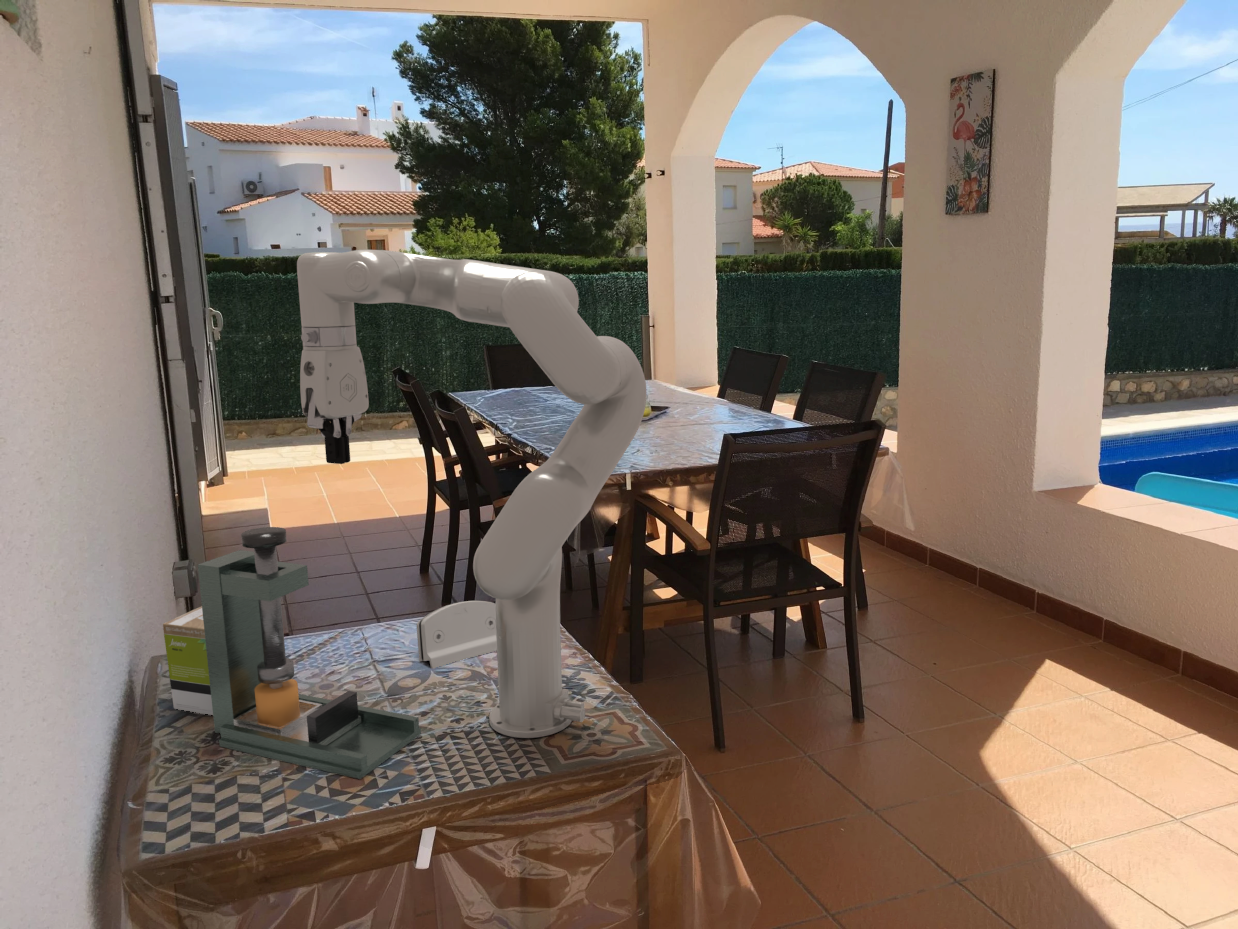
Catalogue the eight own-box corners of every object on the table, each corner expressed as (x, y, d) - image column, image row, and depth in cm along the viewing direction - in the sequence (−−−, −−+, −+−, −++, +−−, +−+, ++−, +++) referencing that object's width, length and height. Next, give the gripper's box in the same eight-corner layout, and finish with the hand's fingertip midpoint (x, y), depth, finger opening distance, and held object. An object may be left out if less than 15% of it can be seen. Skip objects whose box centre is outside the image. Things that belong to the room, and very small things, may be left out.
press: (421, 734, 140) (411, 564, 135) (360, 779, 128) (346, 594, 123) (268, 702, 152) (254, 545, 147) (198, 741, 139) (180, 570, 134)
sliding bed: (361, 722, 142) (358, 690, 141) (315, 752, 133) (312, 719, 132) (280, 705, 148) (277, 675, 147) (231, 733, 139) (228, 701, 138)
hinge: (430, 669, 164) (418, 612, 165) (419, 670, 168) (408, 614, 168) (514, 646, 174) (502, 592, 174) (502, 647, 177) (491, 594, 178)
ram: (306, 672, 142) (294, 529, 138) (277, 688, 136) (264, 539, 132) (275, 666, 144) (262, 525, 140) (245, 681, 139) (231, 535, 134)
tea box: (237, 673, 163) (230, 591, 161) (286, 681, 160) (279, 596, 157) (170, 710, 149) (160, 621, 147) (222, 719, 146) (213, 628, 143)
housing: (308, 711, 143) (305, 671, 142) (282, 729, 138) (279, 687, 137) (275, 707, 145) (271, 666, 144) (248, 724, 140) (244, 682, 138)
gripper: (315, 342, 131) (324, 473, 134) (382, 336, 144) (389, 455, 148) (272, 341, 134) (283, 470, 137) (342, 335, 147) (350, 452, 151)
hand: (338, 462), depth 142 cm, fingers closed
